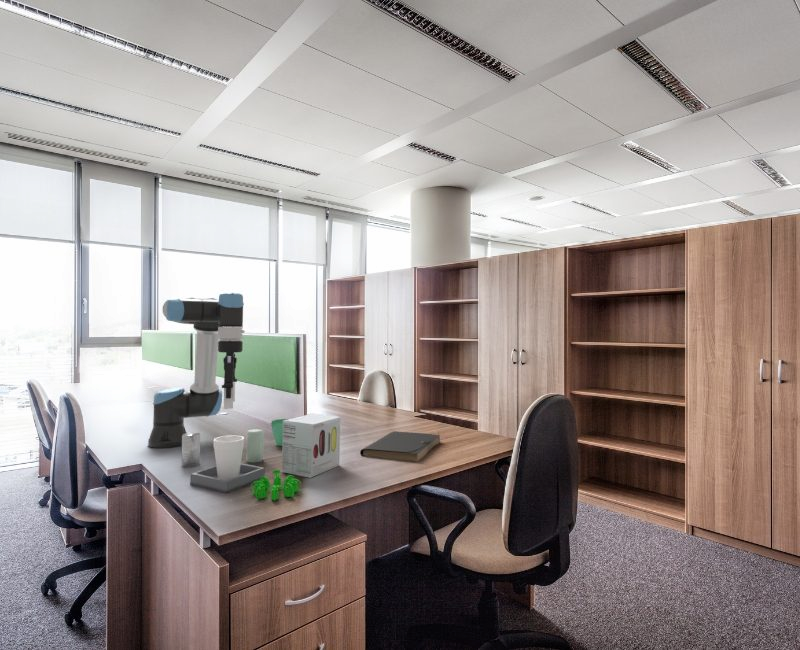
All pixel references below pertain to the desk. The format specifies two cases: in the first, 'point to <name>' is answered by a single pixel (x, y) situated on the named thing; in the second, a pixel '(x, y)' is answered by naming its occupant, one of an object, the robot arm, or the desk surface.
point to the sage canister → (255, 445)
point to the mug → (278, 430)
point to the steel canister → (190, 450)
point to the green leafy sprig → (275, 486)
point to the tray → (212, 482)
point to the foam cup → (228, 455)
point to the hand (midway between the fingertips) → (229, 405)
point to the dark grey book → (402, 446)
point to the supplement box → (310, 444)
